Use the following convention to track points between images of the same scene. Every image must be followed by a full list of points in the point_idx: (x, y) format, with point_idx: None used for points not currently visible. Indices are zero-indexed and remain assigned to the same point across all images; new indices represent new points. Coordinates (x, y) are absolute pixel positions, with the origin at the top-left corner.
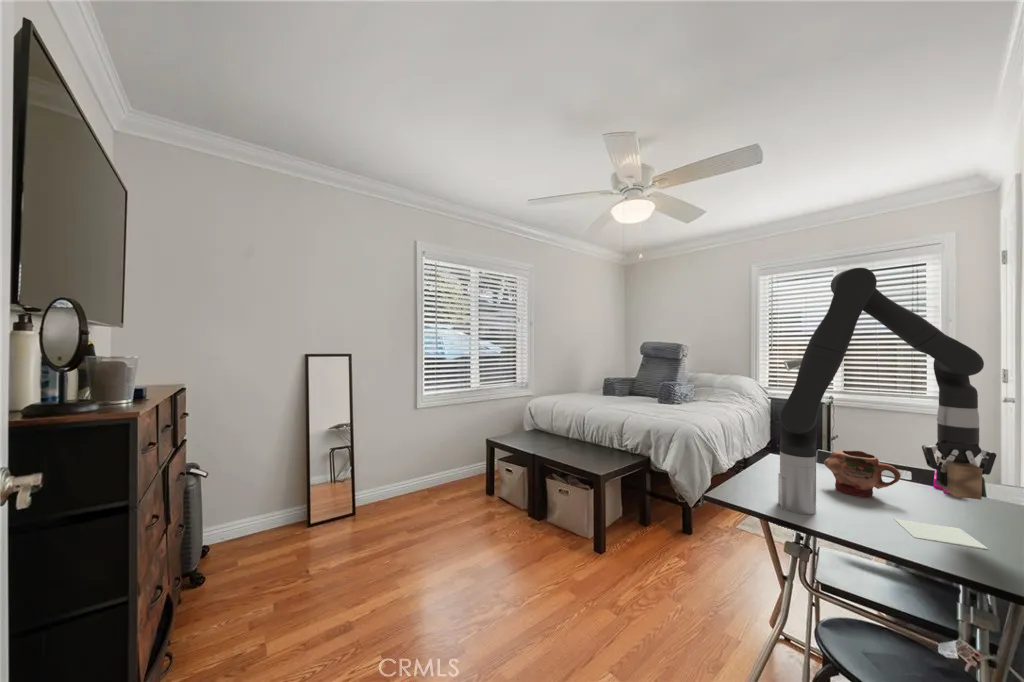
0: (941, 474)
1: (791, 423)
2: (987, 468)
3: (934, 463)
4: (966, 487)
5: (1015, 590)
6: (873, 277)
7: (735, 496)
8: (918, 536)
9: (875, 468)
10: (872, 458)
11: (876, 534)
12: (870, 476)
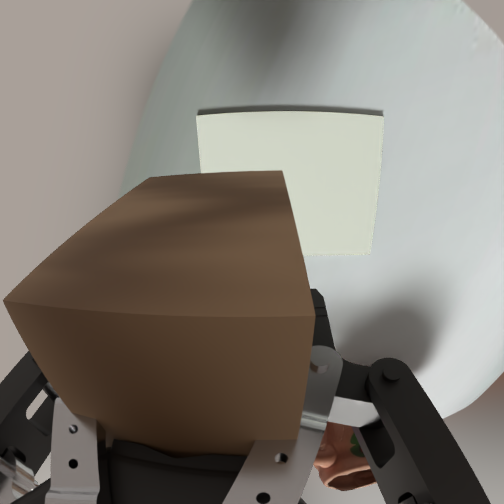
0: (319, 339)
1: None
2: (23, 379)
3: (401, 405)
4: (207, 193)
5: None
6: None
7: None
8: (369, 126)
9: (346, 445)
10: (350, 472)
11: (463, 114)
12: None
